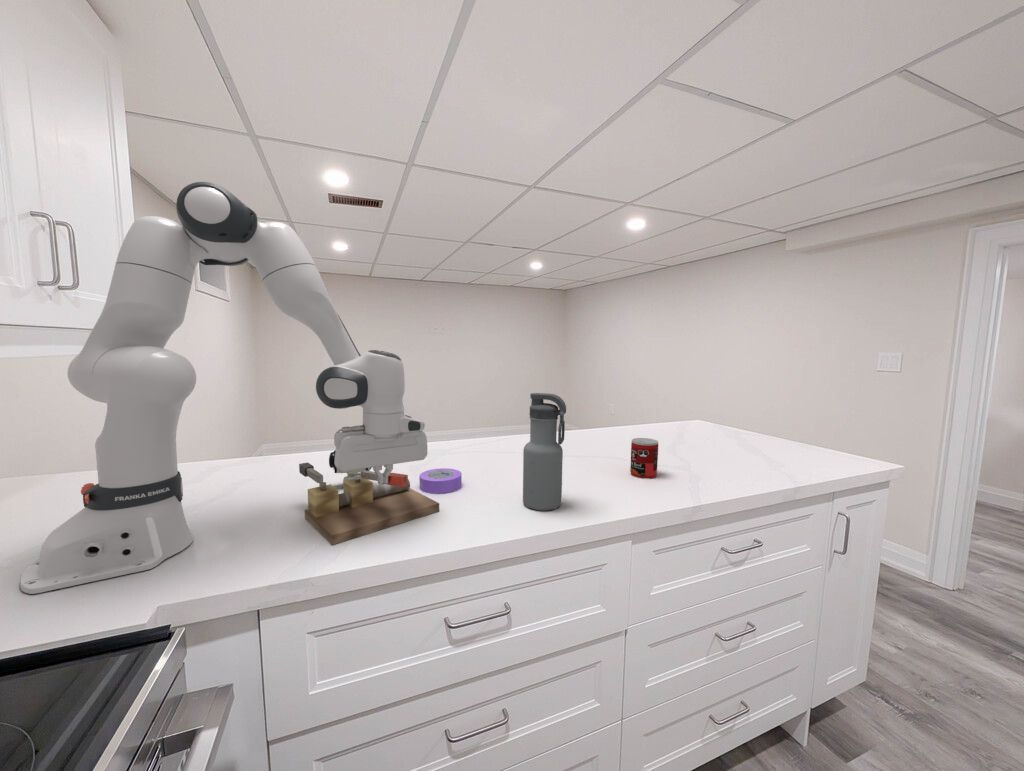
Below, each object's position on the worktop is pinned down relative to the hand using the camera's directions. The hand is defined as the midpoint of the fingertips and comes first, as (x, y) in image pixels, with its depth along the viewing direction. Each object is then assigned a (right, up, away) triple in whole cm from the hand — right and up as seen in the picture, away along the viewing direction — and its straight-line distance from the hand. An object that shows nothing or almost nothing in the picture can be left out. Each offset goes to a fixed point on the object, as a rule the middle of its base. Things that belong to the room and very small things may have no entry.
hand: (382, 483), depth 93 cm
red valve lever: (-2, -1, +3) cm, 3 cm away
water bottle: (+37, -8, +11) cm, 39 cm away
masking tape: (+9, -7, +23) cm, 26 cm away
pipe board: (-6, -8, +7) cm, 12 cm away
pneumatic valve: (-15, -6, +22) cm, 27 cm away
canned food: (+70, -6, +35) cm, 79 cm away
